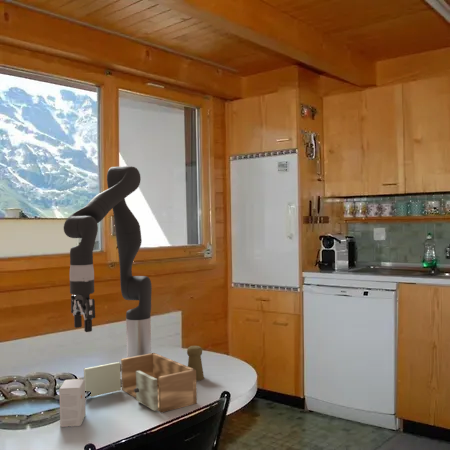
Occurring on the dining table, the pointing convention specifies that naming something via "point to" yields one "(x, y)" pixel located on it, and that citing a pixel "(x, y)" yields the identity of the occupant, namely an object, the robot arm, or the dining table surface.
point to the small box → (72, 402)
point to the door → (103, 379)
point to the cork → (195, 361)
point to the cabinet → (159, 382)
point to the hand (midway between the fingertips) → (83, 329)
